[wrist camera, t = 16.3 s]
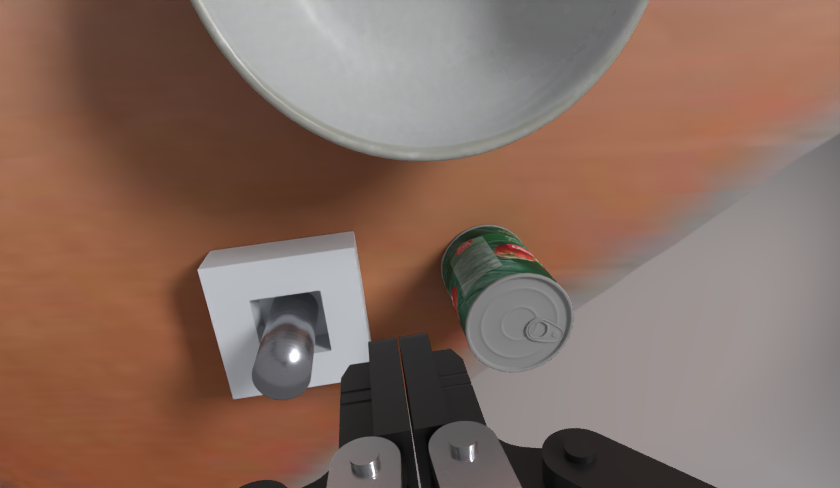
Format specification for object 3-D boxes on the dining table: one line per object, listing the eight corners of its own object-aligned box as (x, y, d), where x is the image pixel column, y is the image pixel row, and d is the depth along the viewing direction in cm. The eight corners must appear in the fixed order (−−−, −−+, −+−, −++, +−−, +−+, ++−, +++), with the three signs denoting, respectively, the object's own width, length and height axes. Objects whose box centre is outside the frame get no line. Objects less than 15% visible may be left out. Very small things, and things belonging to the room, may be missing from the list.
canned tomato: (427, 291, 49) (448, 357, 38) (460, 212, 46) (491, 260, 36) (506, 314, 50) (545, 383, 40) (541, 239, 48) (592, 292, 38)
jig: (244, 379, 49) (235, 407, 46) (210, 250, 45) (197, 269, 41) (374, 359, 50) (376, 384, 47) (353, 230, 46) (354, 247, 42)
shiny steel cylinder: (276, 333, 47) (258, 404, 38) (266, 292, 46) (245, 355, 36) (322, 326, 47) (315, 394, 38) (314, 285, 46) (305, 346, 37)
